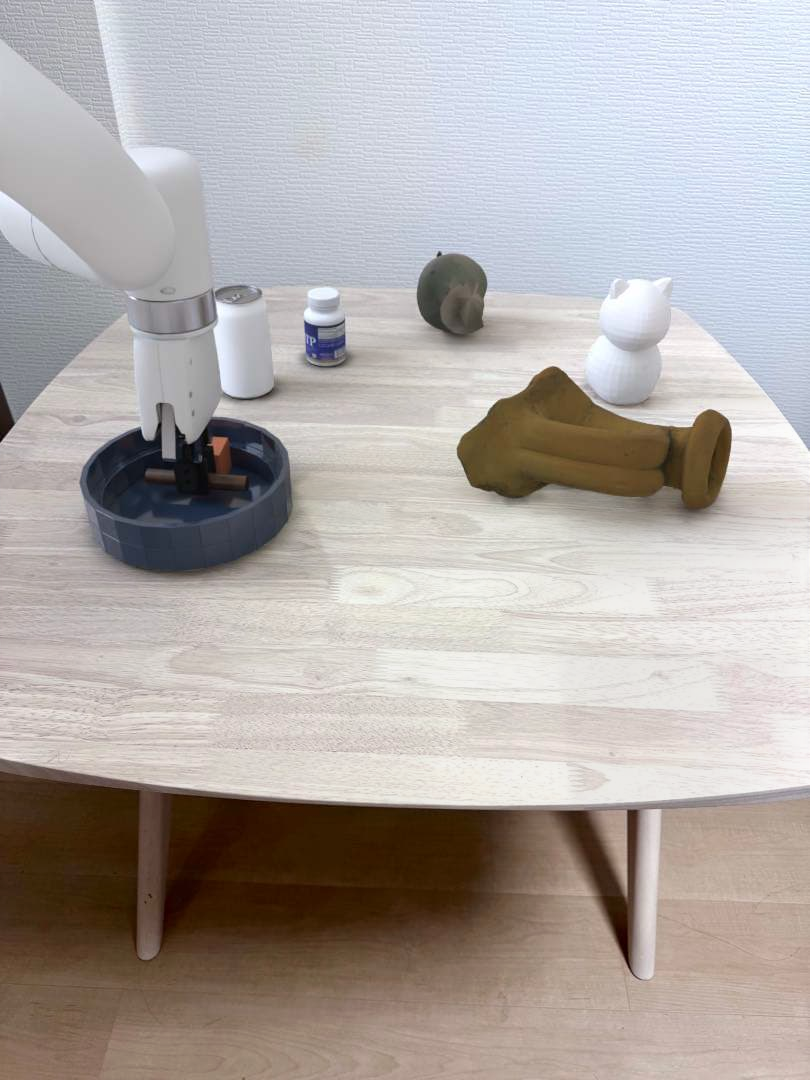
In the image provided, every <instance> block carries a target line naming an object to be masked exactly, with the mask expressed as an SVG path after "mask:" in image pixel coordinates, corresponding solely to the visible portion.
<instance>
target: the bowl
mask: <svg viewBox="0 0 810 1080" xmlns="http://www.w3.org/2000/svg"><path fill="white" fill-rule="evenodd" d="M211 423H212V432H213V437H224V438H228V440H229V448H230V455H231V463H232V467H231V469H230V471H229V473H228V474H230V475H243V476H248V477H249V489H248V491H247V492H238V491H225V490H212V489H211V491H210V493H209V495H207V496H204V495H191V494H180V493H179V492H178V491H177V487H173V486H161V485H148V484H146V481H145V473H146V470H147V469H148V468H151V469H164V470H174V468H173V462H172V461H163V458H162V429H161V430H160V432H159V433H158V435H157V436H156V438H155V439H154V441H153V440H152V441H146V440H145V439H144V437H143V435H142V430H141V425H140V426H138V427H135V428H132V429H129V430H127V431H125V432H123V433H121V434H119V435H117V436H116V437H114V438H111V439H109V440H108V441H107V442H105V443H104V444H103V445H102V446H100V447H99V448H98V449H96V450H95V451H94V452H93V453H91V455H90V456H89V458H88V459H87V461H86V462H85V464H84V465H83V467H82V469H81V474H80V478H79V481H78V483H79V484H78V485H79V487H80V491H81V495H82V499H83V503H84V507H85V511H86V514H87V518H88V521H89V525H90V529H91V532H92V535H93V536H92V537H93V539H94V541H95V542H96V543H97V544H98V545H99V546H100V547H101V549H102V550H103V551H104V552H105V553H106V554H108V555H109V556H111V557H113V558H115V559H117V560H118V561H121V562H122V563H124V564H127V565H130V566H134V567H138V568H142V569H145V570H151V571H163V572H164V571H166V572H185V571H186V572H187V571H197V570H206V569H211V568H214V567H218V566H220V565H221V566H222V565H225V564H229V563H233V562H235V561H237V560H239V559H242V558H244V557H246V556H248V555H250V554H253V553H255V552H257V551H259V550H260V549H262V548H263V547H264V546H265V545H267V544H269V543H270V542H271V541H272V540H274V539H275V538H277V536H278V535H279V534H280V532H281V531H282V530H283V529H284V527H286V525H287V524H288V522H289V519H290V516H291V514H292V511H293V508H294V503H293V502H294V501H293V492H292V479H291V465H290V458H289V451H288V450H287V448H286V447H285V445H284V444H283V442H282V441H281V439H280V438H278V437H277V436H276V435H274V434H273V433H272V432H271V431H269V430H267V429H266V428H265V427H262V426H259V425H258V424H254V423H251V422H249V421H246V420H241V419H237V418H231V417H225V416H212V417H211ZM181 443H183V444H187V442H183V441H180V444H181Z"/></svg>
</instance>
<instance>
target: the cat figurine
mask: <svg viewBox="0 0 810 1080" xmlns="http://www.w3.org/2000/svg"><path fill="white" fill-rule="evenodd" d="M609 288H610V289H609V292H608V294H607V296H606V297H605V298H604V300H603V301H602V303H601V306H600V308H599V309H600V310H599V313H598V321H599V322H598V325H599V327H600V330H601V333H602V335H600V336H599V337H597V339H596V340H595V341H594V342H593V344H592V345H591V346H590V349H589V351H588V353H587V357H586V360H585V364H584V365H585V366H584V378H585V381H586V382H587V384H588V386H589V387H590V388H591V390H593V391H594V393H595V394H596V395H597V396H598V397H599V398H600V399H602V401H605V402H606V403H608V404H612V405H620V406H621V405H622V406H629V405H637V404H640V403H642V402H644V401H646V400H647V399H648V398H649V397H650V396H651V394H652V393H653V392H654V391H655V388H656V386H657V384H658V382H659V379H660V376H661V374H662V369H663V368H662V367H663V361H662V354H661V351H660V349H659V346H658V344H659V343H660V342H661V341H662V340H664V339H665V338H666V335H667V333H668V332H669V330H670V325H671V321H672V320H671V319H672V307H671V302H670V297H671V296H672V292H673V288H674V280H673V278H672V277H667V276H666V277H663V278H660V279H657V280H655V281H651V280H647V279H643V278H641V279H640V278H636V279H635V278H634V279H629V280H626V279H624V278H621V277H618V278H615V279H614V281H612V283H611V285H610V287H609Z"/></svg>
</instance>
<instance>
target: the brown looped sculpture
mask: <svg viewBox="0 0 810 1080" xmlns="http://www.w3.org/2000/svg"><path fill="white" fill-rule="evenodd" d="M486 413H487V414H486V415H485V417H484V418H483V419H481V420H480V421H478V423H477V424H476V425H474V426H473V427H472V428H471V429H469V430H468V431H466V432H465V433H464V434H463V435H462V436H461V438H460V440H459V442H458V445H457V447H456V457H457V459H458V460H459V462H460V464H461V467H462V469H463V471H464V474H465V477H466V480H467V481H468V483H469V485H470V487H472V488H473V489H474V488H475V489H477V490H478V489H479V490H481V491H485V492H489V493H491V492H494V493H495V494H497V495H498V496H500V497H503V498H507V499H522V498H524V497H528V496H529V495H532V494H534V493H535V492H537V491H539V490H541V489H543V488H544V487H547V486H550V485H556V486H561V487H563V486H564V487H567V488H568V487H569V488H573V489H577V490H581V491H586V492H587V491H588V492H592V493H597V494H602V495H608V496H615V497H621V498H622V497H623V498H648V497H651V496H653V495H655V494H657V493H658V492H659V491H660V490H661V489H662V488H663V487H665V488H672V489H673V490H677V491H680V492H681V501H682V502H683V504H684V505H685V506H686V508H689V509H691V510H697V511H698V510H703V509H706V508H708V507H710V506H712V505H713V504H714V503H715V502H716V501H717V499H718V497H719V494H720V492H721V489H722V487H723V483H724V481H725V478H726V475H727V471H728V467H729V462H730V456H731V451H732V442H733V441H732V439H733V431H732V426H731V423H730V420H729V419H728V418H727V417H726V416H725V415H724V414H723V413H720V412H719V411H717V410H715V409H711V408H709V409H706V410H703V411H702V412H700V413H699V414H698V415H697V416H696V418H695V419H694V421H693V424H692V426H684V427H683V426H674V425H669V426H668V425H661V424H653V423H648V422H643V421H638V420H635V419H634V420H633V419H631V418H627V417H624V416H621V415H619V414H617V413H616V412H615V413H614V412H613V411H611V410H609V409H606V408H605V407H602V406H600V405H599V404H596V403H595V402H594V401H593V399H591V398H590V397H589V396H588V394H586V393H585V391H584V390H582V389H581V387H580V386H579V385H578V384H577V383H576V382H575V381H574V380H573V379H572V378H571V377H570V376H569V375H568V374H567V372H565V371H564V370H562V369H561V368H560V367H558V366H556V365H550V366H548V367H546V368H544V369H542V370H541V371H540V372H539V373H537V374H535V375H534V376H533V377H532V378H531V379H530V381H529V383H528V384H527V386H526V387H525V388H524V389H522V390H521V391H520V392H518V393H517V394H515V395H512V396H509V397H504V398H500V399H498V400H497V401H495V403H494V404H493V405H492V406H491V407H490V408H489V409H488V411H487V412H486Z"/></svg>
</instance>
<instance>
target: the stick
mask: <svg viewBox="0 0 810 1080" xmlns="http://www.w3.org/2000/svg"><path fill="white" fill-rule="evenodd" d="M208 474H209V481H210V489H212V490H225V491H238V492H247V491H248V489H249V477H248V476H243V475H230V474H217V473H208ZM145 481H146V484H148V485H161V486H173V487H176V481H175V475H174V470H164V469H151V468H148V469H147V470H146V473H145Z"/></svg>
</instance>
